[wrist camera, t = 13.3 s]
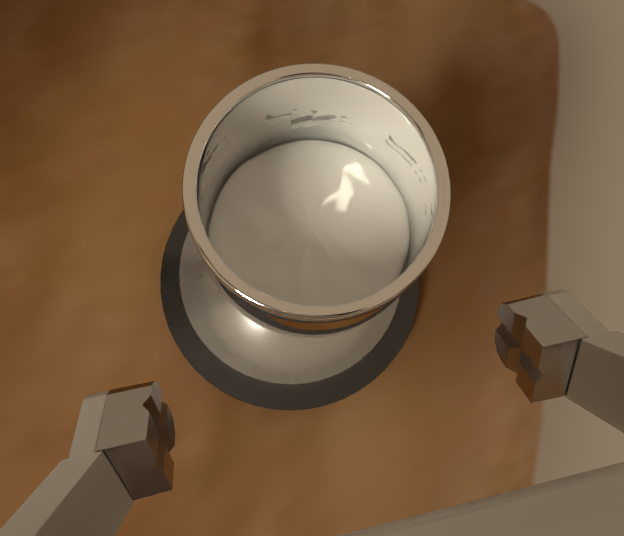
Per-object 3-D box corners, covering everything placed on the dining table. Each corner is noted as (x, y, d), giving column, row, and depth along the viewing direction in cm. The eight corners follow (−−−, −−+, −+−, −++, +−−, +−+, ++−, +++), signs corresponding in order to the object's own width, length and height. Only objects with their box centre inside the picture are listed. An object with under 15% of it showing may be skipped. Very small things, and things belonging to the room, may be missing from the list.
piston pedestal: (114, 325, 29) (94, 321, 26) (248, 119, 31) (244, 94, 29) (339, 458, 28) (345, 470, 25) (457, 235, 31) (475, 222, 28)
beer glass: (217, 246, 27) (131, 107, 12) (335, 201, 28) (390, 19, 13) (264, 367, 26) (234, 378, 11) (385, 316, 27) (509, 262, 12)
